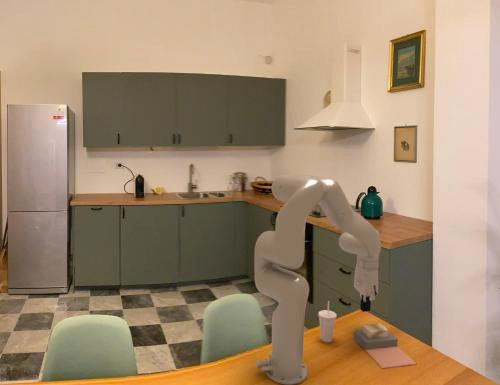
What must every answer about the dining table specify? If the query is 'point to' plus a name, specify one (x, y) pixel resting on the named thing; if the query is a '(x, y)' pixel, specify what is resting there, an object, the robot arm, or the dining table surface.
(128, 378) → the dining table surface
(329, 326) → the smoothie
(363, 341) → the plate
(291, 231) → the robot arm
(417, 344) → the dining table surface
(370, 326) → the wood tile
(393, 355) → the mat
